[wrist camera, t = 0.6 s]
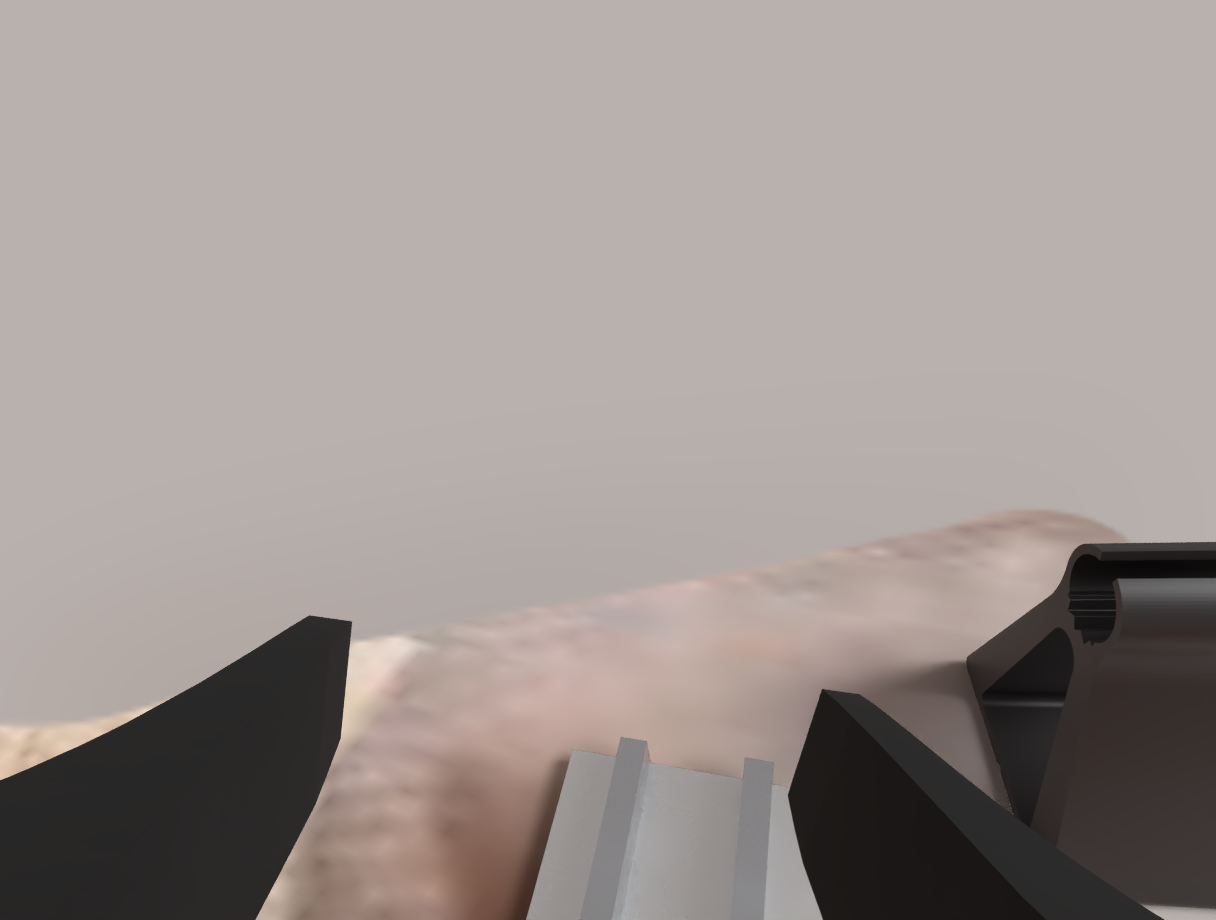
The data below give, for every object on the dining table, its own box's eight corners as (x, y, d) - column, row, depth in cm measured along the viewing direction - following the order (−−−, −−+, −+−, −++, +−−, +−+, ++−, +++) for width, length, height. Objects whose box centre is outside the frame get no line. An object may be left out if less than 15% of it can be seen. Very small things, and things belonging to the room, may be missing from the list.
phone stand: (964, 661, 30) (1046, 451, 22) (1120, 664, 29) (1264, 445, 21) (1039, 901, 23) (1196, 726, 15) (1244, 915, 22) (1523, 735, 14)
